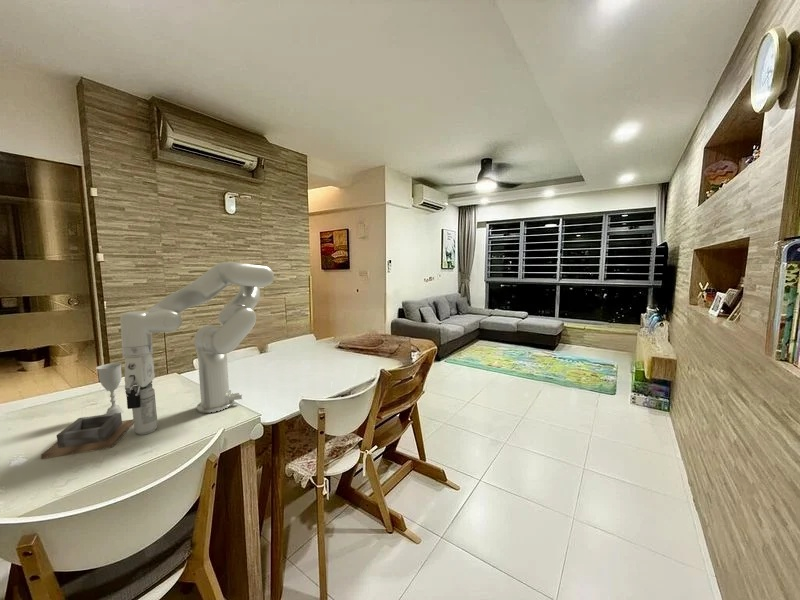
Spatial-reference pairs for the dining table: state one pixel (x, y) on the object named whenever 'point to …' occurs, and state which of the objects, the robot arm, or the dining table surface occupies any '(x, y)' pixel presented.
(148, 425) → the energy drink can
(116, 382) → the chalice
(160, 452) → the dining table surface
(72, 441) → the socket block
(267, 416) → the dining table surface
